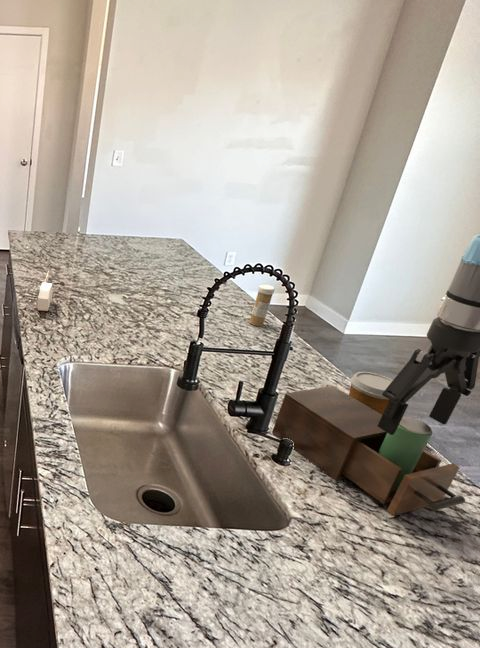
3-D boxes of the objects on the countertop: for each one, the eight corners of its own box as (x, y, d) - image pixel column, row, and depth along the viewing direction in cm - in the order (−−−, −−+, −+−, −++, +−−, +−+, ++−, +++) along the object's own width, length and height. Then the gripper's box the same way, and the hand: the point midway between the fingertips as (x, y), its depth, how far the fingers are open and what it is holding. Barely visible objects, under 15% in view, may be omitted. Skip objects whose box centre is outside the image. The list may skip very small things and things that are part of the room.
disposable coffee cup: (389, 427, 128) (408, 384, 123) (371, 440, 123) (391, 396, 118) (346, 408, 135) (363, 367, 130) (328, 419, 130) (345, 377, 125)
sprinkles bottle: (248, 320, 183) (259, 283, 178) (263, 323, 182) (274, 285, 176) (248, 324, 180) (259, 287, 174) (263, 328, 178) (275, 290, 172)
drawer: (463, 519, 100) (485, 482, 96) (415, 532, 97) (435, 495, 93) (365, 453, 117) (380, 419, 113) (320, 463, 114) (334, 428, 110)
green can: (411, 489, 105) (441, 431, 99) (389, 495, 104) (418, 436, 98) (382, 469, 111) (409, 413, 104) (360, 474, 109) (386, 417, 103)
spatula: (57, 285, 213) (47, 284, 214) (59, 265, 210) (49, 264, 211) (48, 314, 178) (36, 313, 179) (51, 291, 175) (38, 290, 176)
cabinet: (384, 469, 114) (404, 427, 109) (335, 480, 110) (354, 438, 105) (317, 424, 128) (332, 385, 124) (271, 432, 124) (285, 393, 120)
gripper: (486, 309, 99) (437, 405, 108) (388, 320, 92) (344, 422, 101) (535, 326, 92) (479, 427, 102) (433, 340, 85) (382, 447, 94)
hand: (411, 425), depth 101 cm, fingers open, 13 cm apart
